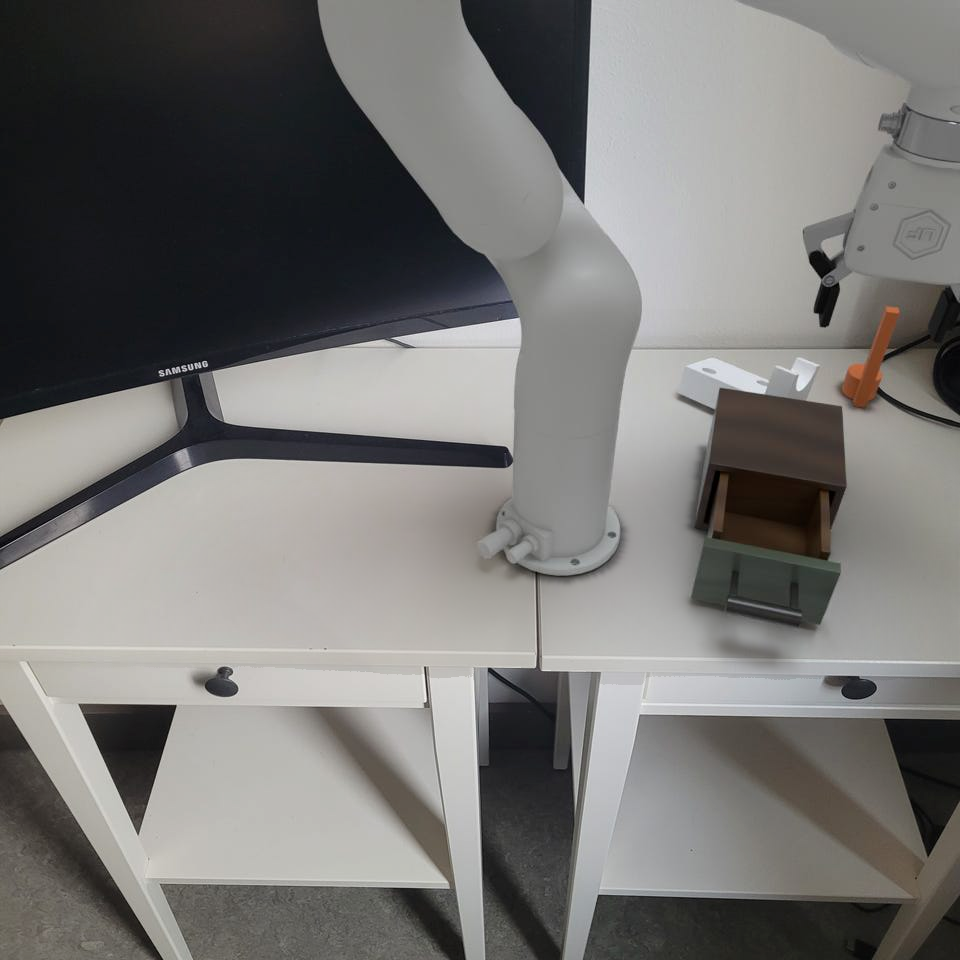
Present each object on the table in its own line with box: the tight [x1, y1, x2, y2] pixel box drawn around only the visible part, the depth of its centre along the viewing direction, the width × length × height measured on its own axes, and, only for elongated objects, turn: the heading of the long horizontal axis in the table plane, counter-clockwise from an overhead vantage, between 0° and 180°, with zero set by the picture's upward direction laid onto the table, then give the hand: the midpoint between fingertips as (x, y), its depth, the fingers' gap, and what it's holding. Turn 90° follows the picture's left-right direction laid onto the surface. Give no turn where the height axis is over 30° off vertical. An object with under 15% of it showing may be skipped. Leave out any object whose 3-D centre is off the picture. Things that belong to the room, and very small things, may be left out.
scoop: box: [841, 305, 900, 409], centre depth 98 cm, size 5×4×13 cm
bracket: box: [677, 357, 821, 410], centre depth 99 cm, size 13×7×8 cm, turn 46°
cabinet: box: [694, 388, 848, 532], centre depth 85 cm, size 14×13×9 cm
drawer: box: [690, 471, 842, 629], centre depth 75 cm, size 17×11×7 cm, turn 163°
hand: (877, 328), depth 75 cm, fingers open, 9 cm apart
